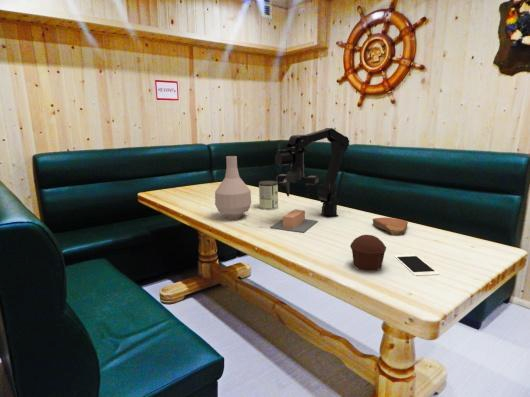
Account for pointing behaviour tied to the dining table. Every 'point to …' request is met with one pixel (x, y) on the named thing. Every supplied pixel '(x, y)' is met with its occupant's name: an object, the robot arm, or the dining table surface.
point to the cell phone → (416, 265)
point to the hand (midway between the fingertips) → (297, 197)
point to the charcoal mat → (299, 228)
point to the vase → (232, 192)
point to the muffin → (368, 252)
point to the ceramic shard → (391, 225)
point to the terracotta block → (293, 218)
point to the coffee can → (268, 195)
